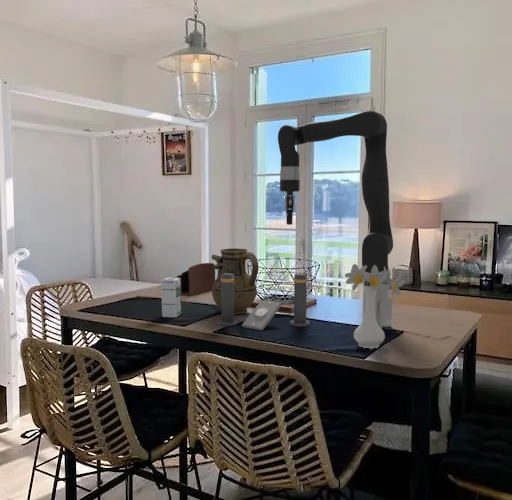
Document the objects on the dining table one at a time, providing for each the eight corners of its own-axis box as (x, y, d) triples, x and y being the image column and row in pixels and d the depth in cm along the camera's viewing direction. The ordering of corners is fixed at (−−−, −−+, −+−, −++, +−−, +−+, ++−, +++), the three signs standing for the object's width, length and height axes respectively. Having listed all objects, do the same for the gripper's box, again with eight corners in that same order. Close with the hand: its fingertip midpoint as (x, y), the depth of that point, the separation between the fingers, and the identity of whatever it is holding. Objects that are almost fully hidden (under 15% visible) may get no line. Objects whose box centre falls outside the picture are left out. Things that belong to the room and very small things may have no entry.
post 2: (313, 325, 190) (314, 275, 189) (298, 327, 186) (299, 276, 185) (301, 321, 196) (301, 272, 194) (286, 323, 192) (286, 274, 190)
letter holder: (215, 290, 262) (215, 261, 261) (189, 296, 245) (189, 265, 244) (199, 288, 267) (199, 260, 266) (173, 294, 251) (173, 264, 249)
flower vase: (395, 356, 153) (397, 270, 151) (335, 347, 162) (336, 265, 160) (407, 345, 164) (410, 265, 162) (350, 337, 174) (352, 261, 171)
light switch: (240, 322, 186) (261, 297, 196) (245, 335, 189) (265, 310, 199) (260, 326, 181) (280, 300, 191) (265, 339, 184) (284, 313, 194)
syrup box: (176, 317, 201) (175, 279, 199) (161, 317, 202) (161, 279, 201) (181, 314, 206) (181, 277, 205) (167, 313, 208) (166, 276, 206)
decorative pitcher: (269, 312, 211) (270, 249, 209) (243, 320, 197) (243, 253, 194) (226, 305, 224) (226, 246, 221) (199, 313, 209) (198, 249, 207)
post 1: (241, 324, 191) (241, 274, 189) (224, 327, 187) (224, 276, 185) (230, 320, 197) (230, 272, 195) (214, 323, 192) (214, 273, 191)
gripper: (300, 178, 196) (300, 225, 198) (298, 179, 210) (298, 223, 211) (280, 178, 197) (280, 225, 198) (279, 179, 210) (279, 223, 212)
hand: (289, 224), depth 205 cm, fingers closed
